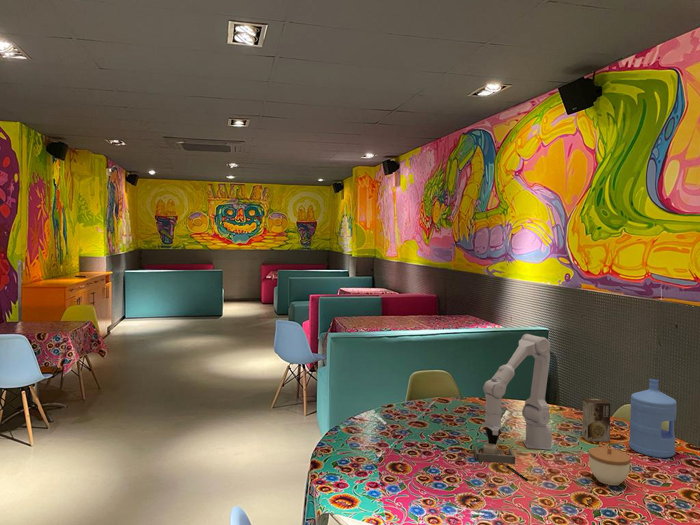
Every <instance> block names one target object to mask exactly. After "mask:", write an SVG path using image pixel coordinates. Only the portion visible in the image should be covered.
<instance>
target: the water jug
mask: <svg viewBox="0 0 700 525" xmlns="http://www.w3.org/2000/svg"><path fill="white" fill-rule="evenodd" d="M659 381H660V380H659V379H655V378H649V384H648V385H649V386H648V387H649V388H648V389H645V390H641V391H638V392H634V393H632V394H631V395H630V417H629V418H630V419H629V439H628V445H629V447H630V448H631V450H633V451H635V452H636V453H639V454H641V455H645V456H649V457H653V458H659V459H660V458H661V459H662V458H664V459H666V458H671V457H673V456H675V454H676V435H675V421H676V419H677V411H678V408H677V406H678V405H677V401H676V399H674V398H673V397H671V396H669V395H668V394H665V393H663V392H661V391H660V390H659V386H660V385H659ZM664 422H668V430H666V429H662V424H663V423H664Z"/></svg>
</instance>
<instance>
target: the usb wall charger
mask: <svg viewBox="0 0 700 525" xmlns="http://www.w3.org/2000/svg"><path fill="white" fill-rule="evenodd" d="M498 446H499V445H498V444H496V445H495V444H490V443H488V442H485V443H484V445H483V452H482V453H483V454H496V455H504V453H505V450H501V449H498Z"/></svg>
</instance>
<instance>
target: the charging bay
mask: <svg viewBox="0 0 700 525" xmlns="http://www.w3.org/2000/svg"><path fill="white" fill-rule="evenodd" d="M473 452H474V455H475V456H474V457H475V459H476V460H475V461H476V462H487V463H488V462H490V463H502V464H512V465H513V464H516V456H515V454H514V451H513V449H512V447H508V454H507V455H505V454H503V455H501V454H497V455H496V454H483V452H481V453H480V452H479V449H478V445H477V444H474V446H473Z"/></svg>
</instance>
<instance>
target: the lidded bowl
mask: <svg viewBox="0 0 700 525" xmlns="http://www.w3.org/2000/svg"><path fill="white" fill-rule="evenodd" d="M631 461H632V460H631V457H630V455H629V454H627V453H626V452H624V451H621V450H620V449H619V450H618V449H615V448H611V447H603V446H596V447H591V448H589V450H588V463H589V469H590V471H591V473H592V474H593V476H594V477H596V480H597V481H598V482H599V481H600V482H599V483H602V484H604V485H607V484H608V485H609V486H619V485H621V483H622V482H624V481H625V480H626V479H627V478H628V476H629V473H630V469H631ZM608 485H607V486H608Z"/></svg>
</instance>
